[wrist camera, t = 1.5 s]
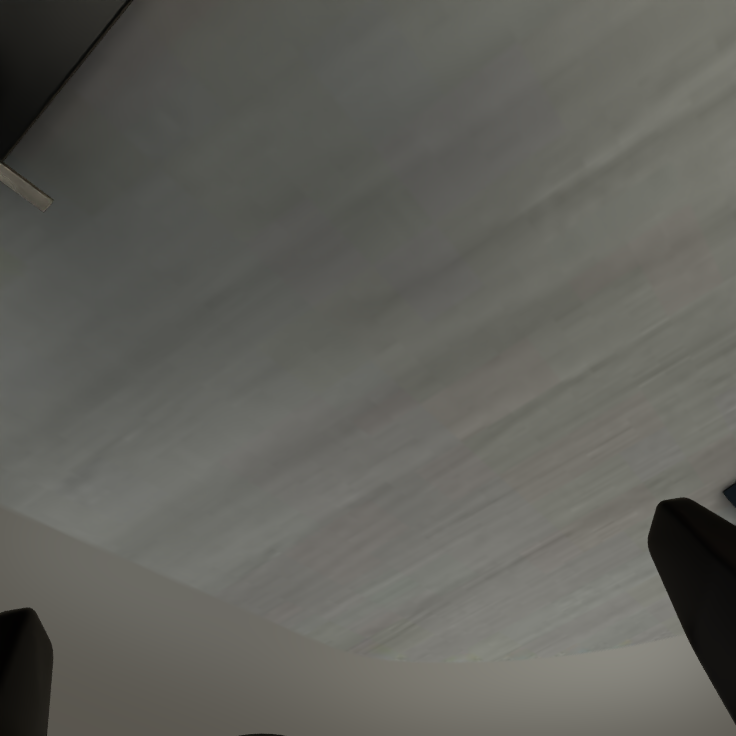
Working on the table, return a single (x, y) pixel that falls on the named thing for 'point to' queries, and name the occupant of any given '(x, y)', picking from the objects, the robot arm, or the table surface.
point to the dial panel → (42, 66)
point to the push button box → (731, 494)
